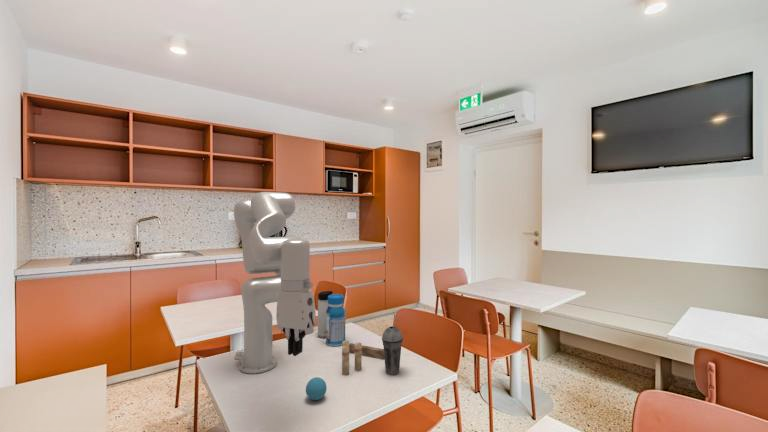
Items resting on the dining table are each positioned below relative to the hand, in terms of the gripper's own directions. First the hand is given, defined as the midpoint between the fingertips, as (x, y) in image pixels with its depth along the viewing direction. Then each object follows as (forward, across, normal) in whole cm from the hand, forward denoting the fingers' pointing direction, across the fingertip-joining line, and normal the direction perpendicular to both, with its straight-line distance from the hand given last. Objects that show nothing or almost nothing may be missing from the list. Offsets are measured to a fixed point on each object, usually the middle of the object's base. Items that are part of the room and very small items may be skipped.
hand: (295, 353), depth 90 cm
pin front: (+17, 0, -26) cm, 32 cm away
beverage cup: (+17, -14, -34) cm, 41 cm away
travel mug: (+17, +26, -53) cm, 62 cm away
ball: (+14, 0, -10) cm, 17 cm away
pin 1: (+17, +2, -31) cm, 35 cm away
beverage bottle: (+17, +18, -48) cm, 54 cm away
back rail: (+17, 0, -43) cm, 46 cm away
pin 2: (+17, -2, -31) cm, 35 cm away
